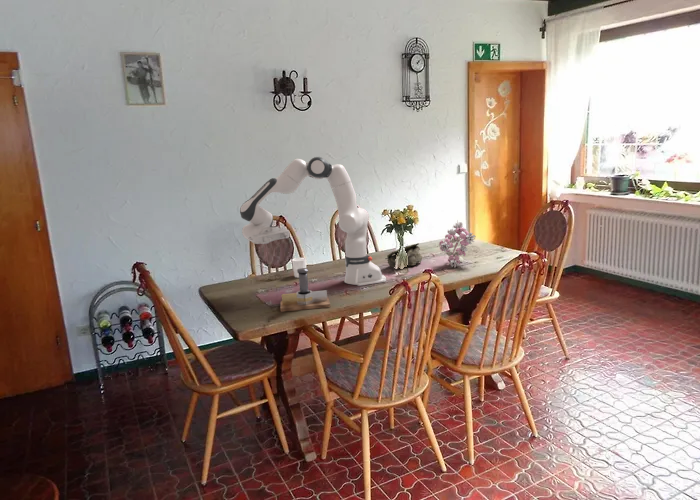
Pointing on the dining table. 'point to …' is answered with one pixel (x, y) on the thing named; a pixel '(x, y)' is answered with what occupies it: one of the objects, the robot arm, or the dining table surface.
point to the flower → (447, 244)
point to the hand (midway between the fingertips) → (279, 238)
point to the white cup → (298, 265)
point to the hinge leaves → (304, 297)
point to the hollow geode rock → (411, 253)
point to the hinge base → (305, 306)
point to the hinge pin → (303, 280)
